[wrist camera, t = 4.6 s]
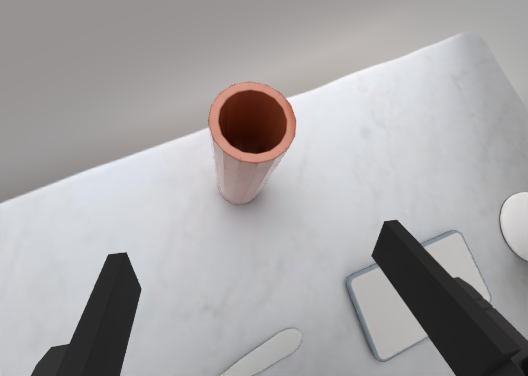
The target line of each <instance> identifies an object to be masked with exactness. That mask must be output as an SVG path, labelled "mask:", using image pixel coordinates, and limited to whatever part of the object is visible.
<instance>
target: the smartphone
mask: <svg viewBox="0 0 528 376" xmlns="http://www.w3.org/2000/svg"><path fill="white" fill-rule="evenodd" d="M421 245H422V246H423V247H424V248H425V249H426V250H427V251H428V252H429V253H430V254H431V256H432V257H433V258H434V259H435V260H436V261H437V262H438V263H439V264H440V265H441V266H442V267H443V268H444V269H445V270H446V271H447V272H448V273H449V274H450V275H451V276H452V277H453V278H455V277H460V278H461V279H463V280H464V281H466V282H467V283H469V284H470V285H472V286H473V287H474V288H475V289H476V290H477V291H478V292H479V293H480V294H481V295H482V296H483V298H484V299H486V300H487V301H488V302H489V303H490V302H491V294H490V292H489V290H488V288H487V286H486V284H485V281H484V279H483V277H482V275H481V273H480V271H479V269H478V267H477V265H476V262H475V260H474V258H473V256H472V254H471V252H470V250H469V248H468V246H467V243H466V241H465V239H464V237H463V235H462V234H461V233H460V232H459V231H456V230H452V231H449V232H447V233H445V234H442V235H440V236H438V237H436V238H433V239H431V240H429V241H426V242H424V243H422V244H421ZM346 285H347V288H348V291H349V293H350V296H351V299H352V301H353V304H354V306H355V309H356V312H357V314H358V317H359V319H360V322H361V324H362V327H363V330H364V332H365V335H366V337H367V340H368V342H369V345H370V348H371V350H372V353H373V355H374V357H375V358H376V359H378V360H379V361H381V362H385V361H388V360H389V359H391V358H393V357H395V356H397V355H398V354H400V353H402V352H404V351H406V350H407V349H409V348H411V347H413V346H415V345H416V344H418V343H420V342H422V341H424V340H425V339H427V338H429V337H428V335H427V334H426V332H425V331H424V330H423V328H422V327H421V325H420V324H419V322H418V321H417V320H416V318H415V317H414V315H413V314H412V313H411V311H410V310H409V308H408V307H407V306H406V304H405V303H404V301H403V300H402V298H401V297H400V296H399V294H398V293H397V291H396V290H395V289H394V287H393V286H392V284H391V283H390V281H389V280H388V279H387V277H386V276H385V274H384V273H383V272H382V270H381V269H380V267H379V266H378V264H377V263H376V264H374V265H372V266H370V267H368V268H365V269H363V270H361V271H358V272H356V273H354V274H352V275H350V276H349V277H348V278H347V280H346Z"/></svg>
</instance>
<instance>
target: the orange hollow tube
mask: <svg viewBox="0 0 528 376" xmlns="http://www.w3.org/2000/svg"><path fill="white" fill-rule="evenodd" d="M208 124H209V131H210V137H211V144H212V150H213V157H214V163H215V170H216V176H217V183H218V187H219V191H220V193H221V195H222V196H223V197H224V198H225V199H226V200H227V201H229V202H231V203H234V204H245V203H248V202H250V201H252V200H253V199H254V198H255V197H256V196H257V195H258V193H259V192H260V190H261V189H262V187H263V186H264V184H265V183H266V181H267V180H268V178H269V177H270V175H271V174H272V172H273V171H274V169H275V168H276V166H277V165H278V163H279V162H280V160H281V159H282V157H283V156H284V154H285V153H286V151H287V150H288V148H289V146H290V144H291V143H292V141H293V139H294V137H295V130H296V118H295V115H294V112H293V110H292V107H291V106H290V103H289V102H288V101H287V100H286V99H285V98H284V96H283V95H282V94H281V93H280V92H278V91H276V90H275V89H273V88H271V87H270V86H268V85H265V84H260V83H254V82H245V83H239V84H234V85H232V86H230V87H229V88H227V89H225V90H224V91H222V92H221V93H220V94H219V95H218V96H217V98H216V99H215V101H214V102H213V104H212V105H211V108H210V114H209V120H208Z"/></svg>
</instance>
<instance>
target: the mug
mask: <svg viewBox="0 0 528 376" xmlns="http://www.w3.org/2000/svg"><path fill="white" fill-rule="evenodd" d="M500 223H501V229H502V232H503V235H504V238H505V240H506V241H507V243H508V245H509V246H510V247H511V249H512V250H513V251H514V252H515V253H516V254H517V255H518V256H520V257H521V258H522V259H524V260H526V261H528V192H521V193H517V194H514V195H512V196H511V197H509V198H508V199H507V200H506V201H505V203H504V205H503V207H502V210H501V215H500Z"/></svg>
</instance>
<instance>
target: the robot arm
mask: <svg viewBox="0 0 528 376" xmlns="http://www.w3.org/2000/svg"><path fill="white" fill-rule="evenodd" d="M372 257H373V259H374V260H375V262H376V263H377V264H378V266H379V267H380V269H381V270H382V272H383V273H384V274H385V276H386V277H387V279H388V280H389V281H390V283H391V284H392V286H393V287H394V289H395V290H396V291H397V293H398V294H399V296H400V297H401V298H402V300H403V301H404V303H405V304H406V306H407V307H408V308H409V310H410V311H411V313H412V314H413V315H414V317H415V318H416V320H417V321H418V322H419V324H420V325H421V327H422V328H423V330H424V331H425V332H426V334H427V335H428V337H429V338H430V339H431V341H432V342H433V344H434V345H435V347H436V348H437V349H438V351H439V352H440V354H441V355H442V356H443V358H444V359H445V361H446V362H447V364H448V365H449V366H450V368H451V369H452V371H453V372H454V373H455V375H456V376H528V341H527V340H526V339H525V338H524V337H523V336H522V335H521V334H520V333H519V332H518V331H517V330H516V329H515V328H514V327H513V326H512V325H511V324H510V323H509V322H508V321H507V320H506V319H505V318H504V317H503V316H502V315H501V314H500V313H499V312H498V311H497V310H496V309H495V308H493V307H492V305H491V304H490V303H489V302H488V301H487V300H486V299H484V298H483V296H482V295H481V294H480V293H479V292H478V291H477V290H476V289H475V288H474V287H473V286H472V285H470V284H469V283H467V282H466V281H464V280H463V279H461V278H460V277H455V278H453V277H452V276H451V275H450V274H449V273H448V272H447V271H446V270H445V269H444V268H443V267H442V266H441V265H440V264H439V263H438V262H437V261H436V260H435V259H434V258H433V257H432V256H431V254H430V253H429V252H428V251H427V250H426V249H425V248H424V247H423V246H422V245H421V244H420V243H419V242H418V241H417V240H416V239H415V238H414V237H413V236H412V235H411V234H410V233H409V232H408V231H407V230H406V229H405V228H404V227H403V226H402V225H401V223H400V222H399V221H398V220H391V221H384V224H383V226H382V229H381V232H380V234H379V237H378V240H377V243H376V245H375V248H374V251H373V253H372ZM140 293H141V287H140V284H139V282H138V279H137V277H136V275H135V272H134V270H133V267H132V265H131V262H130V260H129V258H128V255H127V253H126V252H125V253H117V254H109V255H108V256H107V259H106V261H105V263H104V265H103V268H102V270H101V272H100V275H99V277H98V279H97V282H96V284H95V286H94V289H93V291H92V293H91V295H90V298H89V300H88V302H87V305H86V307H85V309H84V312H83V314H82V316H81V319H80V321H79V323H78V325H77V328H76V330H75V332H74V335H73V337H72V339H71V342H70V344H67V345H61V346H55V347H51V348H50V349H49V351H48V352H47V353H46V354H45V355H44V357H43V358H42V359H41V360H40V361H39V362H38V364H37V365H36V367H35V369H34V371H33V373H32V375H31V376H120V373H121V369H122V365H123V361H124V357H125V353H126V349H127V345H128V341H129V337H130V333H131V329H132V325H133V321H134V317H135V313H136V309H137V305H138V301H139V297H140Z"/></svg>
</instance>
